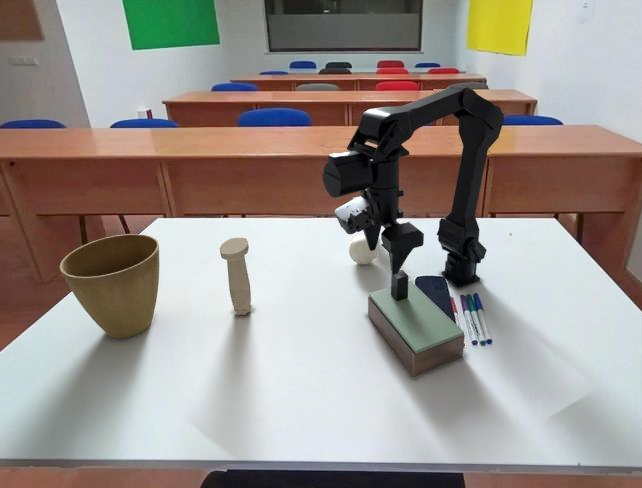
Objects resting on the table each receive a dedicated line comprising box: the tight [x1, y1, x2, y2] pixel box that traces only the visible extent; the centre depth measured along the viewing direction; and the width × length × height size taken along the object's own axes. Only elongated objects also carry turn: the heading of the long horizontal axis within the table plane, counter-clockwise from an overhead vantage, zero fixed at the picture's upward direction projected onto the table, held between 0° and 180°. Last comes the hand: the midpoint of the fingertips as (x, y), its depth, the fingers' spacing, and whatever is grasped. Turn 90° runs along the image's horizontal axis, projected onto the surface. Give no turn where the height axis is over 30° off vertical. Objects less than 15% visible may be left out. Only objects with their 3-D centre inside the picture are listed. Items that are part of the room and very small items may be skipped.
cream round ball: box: [348, 235, 379, 265], centre depth 96 cm, size 7×7×7 cm
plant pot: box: [59, 233, 160, 340], centre depth 73 cm, size 15×15×16 cm
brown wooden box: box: [367, 296, 466, 377], centre depth 72 cm, size 10×17×4 cm, turn 27°
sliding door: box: [368, 269, 465, 354], centre depth 71 cm, size 10×17×6 cm, turn 27°
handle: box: [219, 237, 252, 316], centre depth 77 cm, size 5×6×15 cm
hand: (382, 261), depth 74 cm, fingers open, 9 cm apart
